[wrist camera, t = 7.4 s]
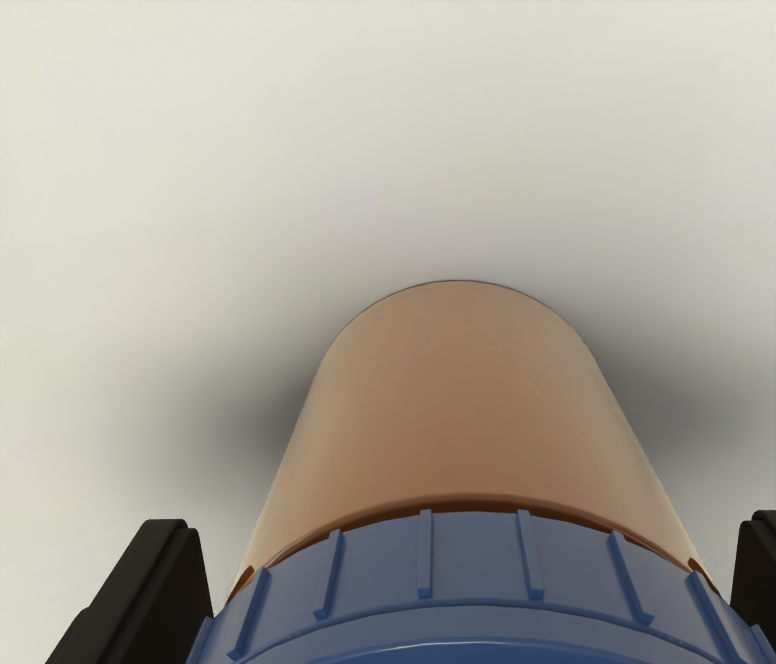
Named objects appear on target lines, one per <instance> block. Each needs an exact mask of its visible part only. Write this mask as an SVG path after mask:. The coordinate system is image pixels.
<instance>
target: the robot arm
mask: <svg viewBox="0 0 776 664" xmlns="http://www.w3.org/2000/svg"><path fill="white" fill-rule="evenodd" d="M730 607H731V608H732V609H733V610H734V611H735V612H736V613H737V614H738V615H739V616H740V617H741V618H742V619H743V620H744V621H745V622H746V623H747V624H748V626H749V627H752V626H754V625H756V624H758V625H759V626H760V628H761V629H762V630H763V632H764V633H765V635H766V637H767V639H768V640H769V642H770V644H771V646H772V647H773V649H774V651H775V653H776V510H758V511H756V512H754V514H753V516H752V519H751V521H743V522H742V523H741V525H740V529H739V537H738V545H737V553H736V561H735V569H734V577H733V585H732V593H731V601H730ZM206 617H209V618H211V619H214V616H213V610H212V604H211V599H210V593H209V588H208V582H207V577H206V571H205V565H204V560H203V554H202V549H201V543H200V538H199V534H198V531H197V529H195V528H188V526H187V523H186V522H185V520H183V519H149V520H146V521H145V522H144V523H143V524H142V526H141V527H140V529H139V530H138V532H137V533H136V535H135V536H134V538H133V539H132V541H131V543H130V544H129V546H128V547H127V549H126V550H125V552H124V553H123V555H122V556H121V558H120V560H119V561H118V563H117V564H116V566H115V567H114V569H113V570H112V572H111V573H110V575H109V576H108V578H107V580H106V581H105V583H104V584H103V586H102V587H101V589H100V590H99V592H98V593H97V595H96V597H95V598H94V600H93V601H92V603H91V604H90V606H89V607H87V608H85V609H83V610H82V611H81V612H80V613H79V614H78V615H77V616H76V618H75V619H74V620H73V622H72V623H71V625H70V626H69V628H68V629H67V631H66V633H65V634H64V636H63V637H62V639H61V640H60V642H59V643H58V645H57V646H56V648H55V649H54V651H53V652H52V654H51V655H50V657H49V658H48V660H47V661H46V663H45V664H185V662H186V659H187V657H188V655H189V652H190V650H191V648H192V645H193V643H194V641H195V638H196V636H197V633H198V631H199V629H200V626H201V624H202V622H203V621H204V619H205V618H206Z"/></svg>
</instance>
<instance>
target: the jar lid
mask: <svg viewBox="0 0 776 664" xmlns="http://www.w3.org/2000/svg"><path fill="white" fill-rule="evenodd" d="M185 664H776V653H775V651H774V649H773V647H772V646H771V644H770V642H769V640H768V639H767V637H766V635H765V633H764V632H763V630H762V629H761V628H760V626H759V625H758V624H756V625H754V626H752V627H749V626H748V624H747V623H746V622H745V621H744V620H743V619H742V618H741V617H740V616H739V615H738V614H737V613H736V612H735V611H734V610H733V609H732V608H731V607H730V606H729V605H728V604H727V603H726V602H725V601H724V600H723V599H722V598H721V597H719V596H718V595H717V594H715V593H714V592H713V591H712V590H710V588H709V586H708V584H707V582H706V580H705V578H704V576H703V575H702V574H701V573H699V572H698V571H696V570H694V571H693V572H692V573H691V574H689V573H687V572H686V571H684V570H682V569H681V568H679V567H677V566H675V565H674V564H672V563H670V562H669V561H667V560H665V559H663V558H662V557H660V556H658V555H656V554H655V553H653V552H651V551H649V550H646V549H644V548H642V547H640V546H637V545H635V544H633V543H630V542H627V541H625V538H624V536H623V534H622V533H620V532H617V531H615V530H612V532H611V534H608V533H604V532H601V531H597V530H594V529H590V528H587V527H583V526H580V525H577V524H573V523H570V522H566V521H560V520H554V519H548V518H543V517H537V516H531V515H529V511H528V510H520V509H518V510H517V514H516V513H499V512H482V511H465V512H447V513H432V510H431V509H427V510H421V511H420V515H414V516H410V517H404V518H398V519H392V520H386V521H381V522H377V523H374V524H371V525H367V526H364V527H360V528H357V529H353V530H350V531H346V532H343V533H342V532H341V530H340V529H337V530H334V531H332V532H330V536H329V538H328V539H326V540H323V541H320V542H319V543H316V544H313V545H312V546H309V547H307V548H305V549H302V550H301V551H299V552H297V553H295V554H294V555H292V556H290V557H289V558H287V559H285V560H284V561H282V562H280V563H278V564H277V565H275V566H273V567H272V568H270V569H268V570H267V569H266V568H265V567H264V566H262V567H261V568H260V569H258V570H257V571H256V572H255V575H254V578H253V581H252V583H251V584H249V585H248V586H247V587H245V588H244V589H243V590H242V591H240V592H239V593H238V594H237V595H236V596H235V597H234V598H233V599H232V600H231V601H230V602H229V603H228V604H227V605H226V606H225V607H224V608H223V610H222V611H221V612H220V613H219V614H218V615H217V616H216V617H215V618H214V619H211V618H209V617H206V618H205V619H204V621H203V622H202V624H201V626H200V629H199V631H198V633H197V636H196V638H195V641H194V643H193V645H192V648H191V650H190V652H189V655H188V657H187V659H186V662H185Z"/></svg>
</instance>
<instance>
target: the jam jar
mask: <svg viewBox="0 0 776 664" xmlns="http://www.w3.org/2000/svg"><path fill="white" fill-rule="evenodd" d="M427 509H431V510H432V513H447V512H465V511H482V512H499V513H516V514H517V510H518V509H520V510H528V511H529V515H531V516H537V517H543V518H548V519H554V520H560V521H566V522H570V523H573V524H577V525H580V526H583V527H587V528H590V529H594V530H597V531H601V532H604V533H608V534H611V532H612V530H615V531H617V532H620V533H622V534H623V536H624V538H625V541H627V542H630V543H633V544H635V545H637V546H640V547H642V548H644V549H646V550H649V551H651V552H653V553H655V554H656V555H658V556H660V557H662V558H663V559H665V560H667V561H669V562H670V563H672V564H674V565H675V566H677V567H679V568H681V569H682V570H684V571H686V572H687V573H689V574H691V573H692V572H693V571H694V570H696V571H698V572H699V573H701V574H702V575H703V576H704V578H705V580H706V582H707V584H708V586H709V588H710V590H712V591H713V592H714V593H715V594H717V595H718V596H719V597H721V595H720V593H719V591H718V589H717V588H716V586H715V584H714V582H713V580H712V578H711V576H710V574H709V573H708V571H707V569H706V567H705V565H704V563H703V561H702V559H701V558H700V556H699V554H698V552H697V550H696V548H695V546H694V544H693V543H692V541H691V539H690V537H689V535H688V533H687V531H686V529H685V528H684V526H683V524H682V522H681V520H680V518H679V516H678V514H677V513H676V511H675V509H674V507H673V505H672V503H671V501H670V499H669V498H668V496H667V494H666V492H665V490H664V488H663V486H662V485H661V483H660V481H659V479H658V477H657V475H656V473H655V471H654V470H653V468H652V466H651V464H650V462H649V460H648V458H647V456H646V455H645V453H644V451H643V449H642V447H641V445H640V443H639V441H638V440H637V438H636V436H635V434H634V432H633V430H632V428H631V426H630V425H629V423H628V421H627V419H626V417H625V415H624V413H623V411H622V410H621V408H620V406H619V404H618V402H617V400H616V398H615V396H614V395H613V393H612V391H611V389H610V387H609V385H608V383H607V381H606V380H605V378H604V376H603V374H602V372H601V370H600V368H599V366H598V365H597V363H596V361H595V359H594V357H593V355H592V353H591V352H590V350H589V348H588V347H587V346H586V344H585V343H584V341H583V340H582V339H581V337H580V336H579V335H578V334H577V332H576V331H575V330H574V329H573V328H572V327H571V326H570V325H569V324H568V323H567V322H566V321H565V320H564V319H562V318H561V317H560V316H559V315H557V314H556V313H555V312H554V311H552V310H551V309H550V308H548V307H546V306H545V305H543V304H541V303H540V302H538V301H536V300H535V299H533V298H531V297H528V296H526V295H524V294H521V293H519V292H517V291H514V290H511V289H508V288H504V287H501V286H497V285H494V284H487V283H480V282H473V281H446V282H437V283H429V284H425V285H421V286H416V287H412V288H409V289H406V290H403V291H401V292H398V293H395V294H393V295H390V296H388V297H387V298H385V299H383V300H381V301H379V302H377V303H375V304H373V305H372V306H371V307H369V308H368V309H366V310H365V311H364V312H362V313H361V314H359V315H358V316H357V317H356V318H355V319H354V320H352V321H351V322H350V323H349V324H348V325H347V326H346V327H345V328H344V329H343V330H342V331H341V333H340V334H339V335H338V336H337V338H336V339H335V340H334V341H333V342H332V344H331V345H330V347H329V349H328V350H327V352H326V354H325V355H324V357H323V359H322V361H321V363H320V366H319V368H318V370H317V373H316V375H315V378H314V380H313V383H312V385H311V388H310V390H309V393H308V395H307V398H306V400H305V403H304V406H303V408H302V411H301V413H300V416H299V418H298V421H297V423H296V426H295V428H294V431H293V433H292V436H291V438H290V441H289V443H288V446H287V448H286V451H285V453H284V456H283V459H282V461H281V464H280V466H279V469H278V471H277V474H276V476H275V479H274V481H273V484H272V486H271V489H270V491H269V494H268V496H267V499H266V501H265V504H264V507H263V509H262V512H261V514H260V517H259V519H258V522H257V524H256V527H255V529H254V532H253V534H252V537H251V539H250V542H249V544H248V547H247V549H246V552H245V554H244V557H243V560H242V562H241V565H240V567H239V570H238V572H237V575H236V577H235V580H234V582H233V585H232V587H231V590H230V592H229V595H228V597H227V600H226V602H225V605H224V607H225V606H226V605H227V604H228V603H229V602H230V601H231V600H232V599H233V598H234V597H235V596H236V595H237V594H238V593H239V592H240V591H242V590H243V589H244V588H245V587H247V586H248V585H249V584H251V583H252V581H253V578H254V575H255V572H256V571H257V570H258V569H260V568H261V567H262V566H264V567H265V568H266V569H267V570H268V569H270V568H272V567H273V566H275V565H277V564H278V563H280V562H282V561H284V560H285V559H287V558H289V557H290V556H292V555H294V554H295V553H297V552H299V551H301V550H302V549H305V548H307V547H309V546H312V545H313V544H316V543H319V542H320V541H323V540H326V539H328V538H329V536H330V532H332V531H334V530H337V529H340V530H341V532H342V533H343V532H346V531H350V530H353V529H357V528H360V527H364V526H367V525H371V524H374V523H377V522H381V521H386V520H392V519H398V518H404V517H410V516H414V515H420V511H421V510H427ZM721 598H722V597H721Z"/></svg>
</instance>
